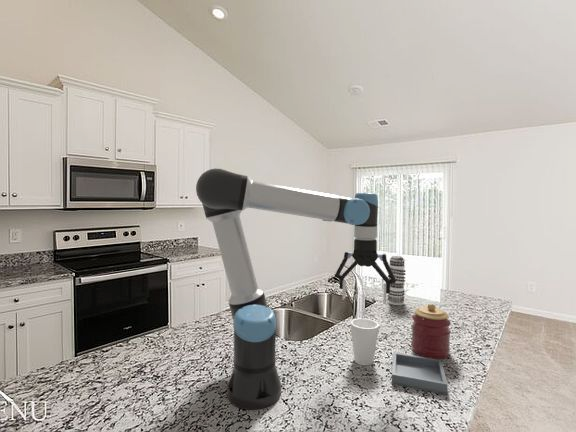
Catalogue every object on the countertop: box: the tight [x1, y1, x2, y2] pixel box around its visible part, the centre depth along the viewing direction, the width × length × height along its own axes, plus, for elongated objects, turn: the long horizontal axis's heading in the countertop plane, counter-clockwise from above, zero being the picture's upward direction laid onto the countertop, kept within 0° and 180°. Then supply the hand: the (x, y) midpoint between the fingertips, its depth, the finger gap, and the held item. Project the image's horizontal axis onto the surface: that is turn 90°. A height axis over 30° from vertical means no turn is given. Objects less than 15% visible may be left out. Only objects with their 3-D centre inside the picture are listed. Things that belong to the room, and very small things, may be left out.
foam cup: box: [350, 317, 380, 366], centre depth 110 cm, size 10×9×13 cm
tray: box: [391, 352, 448, 396], centre depth 101 cm, size 15×15×3 cm
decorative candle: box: [387, 255, 406, 306], centre depth 174 cm, size 9×9×25 cm
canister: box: [410, 303, 452, 360], centre depth 118 cm, size 13×13×18 cm
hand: (364, 300), depth 110 cm, fingers open, 13 cm apart
